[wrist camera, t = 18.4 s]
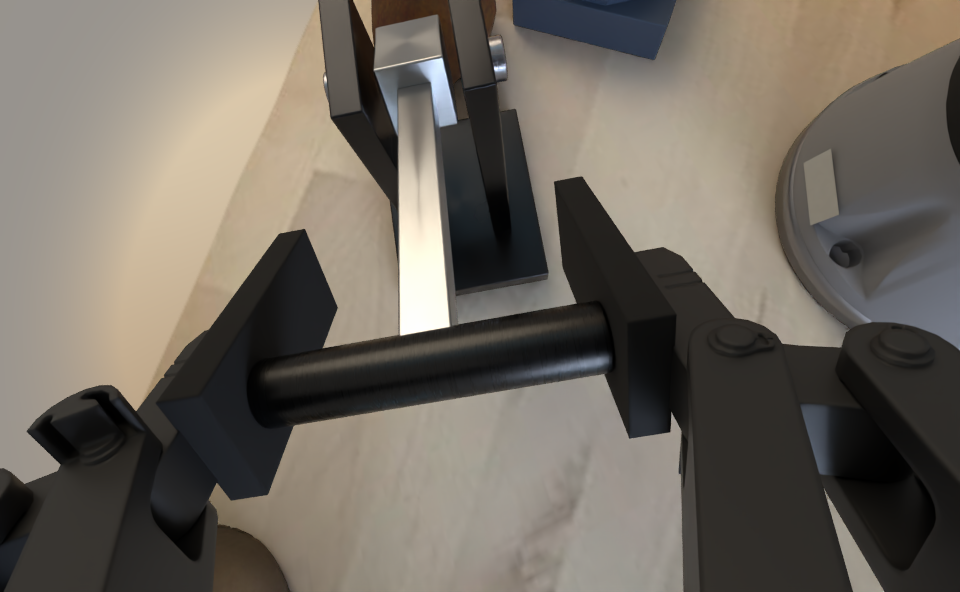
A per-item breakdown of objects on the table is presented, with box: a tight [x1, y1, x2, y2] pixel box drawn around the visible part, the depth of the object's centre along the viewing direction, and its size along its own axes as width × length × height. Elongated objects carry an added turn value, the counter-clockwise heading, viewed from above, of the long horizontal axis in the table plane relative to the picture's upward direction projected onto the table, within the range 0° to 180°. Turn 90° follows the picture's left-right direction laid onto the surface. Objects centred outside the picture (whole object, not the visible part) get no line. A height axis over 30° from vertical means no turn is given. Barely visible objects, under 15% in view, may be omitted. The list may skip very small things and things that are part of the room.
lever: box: [247, 15, 615, 429], centre depth 13 cm, size 13×7×2 cm, turn 8°
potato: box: [371, 0, 496, 84], centre depth 27 cm, size 7×10×7 cm
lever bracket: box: [318, 0, 549, 296], centre depth 21 cm, size 10×8×14 cm
